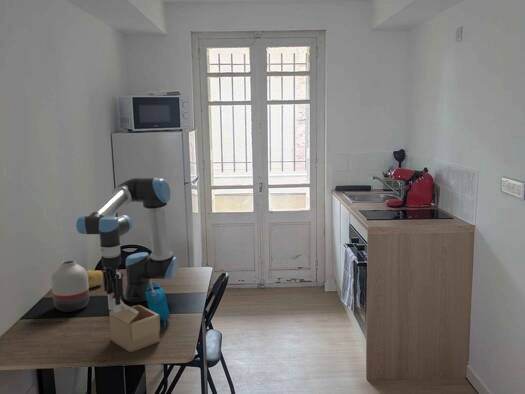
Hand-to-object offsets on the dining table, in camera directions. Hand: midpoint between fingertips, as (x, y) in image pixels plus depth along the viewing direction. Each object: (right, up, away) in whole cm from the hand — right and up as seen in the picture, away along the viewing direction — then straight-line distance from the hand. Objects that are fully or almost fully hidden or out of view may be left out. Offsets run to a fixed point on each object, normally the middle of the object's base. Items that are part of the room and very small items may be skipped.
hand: (114, 310), depth 210 cm
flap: (+3, -2, +3) cm, 5 cm away
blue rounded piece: (+12, -12, +28) cm, 33 cm away
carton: (+6, -15, +9) cm, 18 cm away
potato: (-35, -4, +75) cm, 83 cm away
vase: (-35, -9, +46) cm, 59 cm away
